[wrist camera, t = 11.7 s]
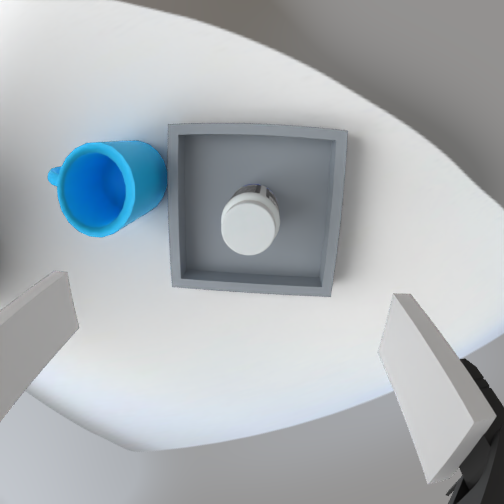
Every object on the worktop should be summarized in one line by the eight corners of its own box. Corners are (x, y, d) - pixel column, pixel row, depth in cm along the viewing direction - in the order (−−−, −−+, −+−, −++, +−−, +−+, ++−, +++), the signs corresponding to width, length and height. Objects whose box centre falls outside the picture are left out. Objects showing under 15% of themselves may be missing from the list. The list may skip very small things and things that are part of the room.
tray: (179, 275, 35) (172, 286, 32) (177, 125, 29) (168, 124, 27) (326, 284, 34) (330, 296, 31) (341, 131, 28) (347, 130, 26)
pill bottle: (223, 220, 32) (206, 247, 24) (240, 176, 30) (227, 188, 22) (268, 237, 32) (266, 269, 24) (286, 193, 30) (290, 212, 22)
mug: (174, 146, 30) (142, 148, 22) (161, 222, 33) (129, 247, 25) (78, 133, 30) (32, 135, 22) (71, 201, 33) (27, 219, 25)
